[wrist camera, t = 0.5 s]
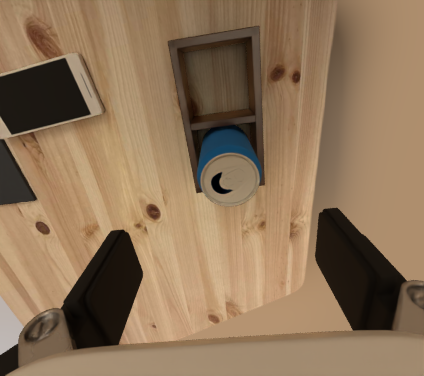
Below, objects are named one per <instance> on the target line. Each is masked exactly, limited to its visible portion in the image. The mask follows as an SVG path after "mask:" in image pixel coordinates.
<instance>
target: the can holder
mask: <svg viewBox="0 0 424 376" xmlns="http://www.w3.org/2000/svg"><path fill="white" fill-rule="evenodd" d="M240 43H245V44H246V61H247V78H248V95H249V109H243V110H236V111H229V112H221V113H214V114H207V115H200V116H194V114H193V108H192V102H191V97H190V91H189V85H188V79H187V73H186V67H185V61H184V55H183V53H184V52H190V51H196V50H203V49H209V48H215V47H221V46H227V45H234V44H240ZM168 46H169V51H170V56H171V62H172V67H173V72H174V77H175V83H176V88H177V93H178V98H179V104H180V109H181V114H182V119H183V125H184V130H185V135H186V141H187V146H188V151H189V156H190V162H191V167H192V172H193V177H194V183H195V188H196V193H201V192H202V190H201V188H200V187H199V184H198V181H197V169H198V163H199V158H200V150H199V144H198V138H197V132H196V130H200V129H208V128H215V127H222V126H230V125H237V124H245V123H250V129H251V146H252V148H253V150H254V152H255V154H256V156H257V158H258V160H259V162H260V165H261V169H262V177H261V182H260V185H259V186H263V185H265V177H264V148H263V118H262V89H261V60H260V31H259V26H254V27H248V28H242V29H236V30H230V31H224V32H218V33H212V34H206V35H200V36H194V37H188V38H182V39H176V40H170V41H168Z"/></svg>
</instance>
